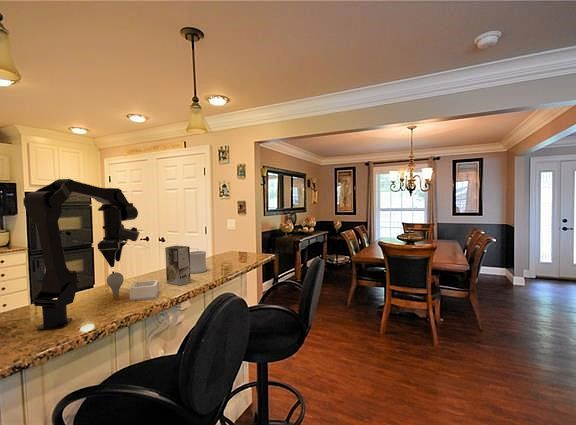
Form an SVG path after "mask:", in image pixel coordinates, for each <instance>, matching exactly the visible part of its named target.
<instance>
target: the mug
mask: <svg viewBox="0 0 576 425" xmlns="http://www.w3.org/2000/svg"><path fill="white" fill-rule="evenodd" d="M206 260H207V251H206V250H194V251H190V274H200V273H205V272H206V271H207V270H208V269H207V261H206Z"/></svg>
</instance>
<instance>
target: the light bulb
mask: <svg viewBox="0 0 576 425" xmlns="http://www.w3.org/2000/svg"><path fill="white" fill-rule="evenodd" d="M124 280H125V279H124V276H123V274H122V273H120V272H116V271H115V272H112V273H110V274H109V275H108V276H107V279H106V284H107V285H108V287H109V288H110V289H111V291H112V292H111V294H112V299H114V300H118V299H119V297H120V288H121V287H122V285H123V283H124Z"/></svg>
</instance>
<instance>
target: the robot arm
mask: <svg viewBox="0 0 576 425" xmlns="http://www.w3.org/2000/svg"><path fill="white" fill-rule="evenodd" d="M71 195H76V196H82V197H86V198H90V199H93V200H95V201H96V202H97V203H100V204H101V206H100V207H98V209H97V211H98V212H102V215H103V216H102V217H103V218H102V219H103V225H102V230H103V232H104V237H103V238H102V240H101V241H98V243H97V250H98V251H99V252H100V253H101V255H102V256H103V257H104V259H105V261H106V262H107V263H108V265H109V267H110V268H114V267H115V264H116V263H115V262H120V261H121V258H122V251H123V249H124V248H123V247H124V246H125V245H126V244H128V241H129V240H130V241H131V242H137V240H138V238H139V236H140V231H139V230H138V228H137V227H134V226H132V227H131V228H125V225H124V224H123V223H122V222H126V221H133V220H136V219H137V217H138V215H139V211H138V209H137V207H136V206H134V203H133V202H129V200H127V197H126V196H125V195H124V192H123V190H122V189H120V188H119V187H117V188H116V187H115V188H113V187H100V186H95V185H92V184H88V183H84V182H80V181H78V180H77V181H76V180H74V179H71V178H58V179H56V180H54V181H52V182H51V183H50V184H47V185H45V186H42V187H40V188H38V189H37V190H35V191H31V192H29V193H27V194H26V195H25V197H23V202H22V203H23V206H24V209H25V211H26V213H27V216H28V217H30V219H31V220H32V221H33V223H35V225H36V230H37V235H38V239H39V243H40V249H41V253H42V259H43V263H44V268H45V272H44V275H43V277H42V279H41V289H40V290H39V292H38V293H37V294H36V296H35V297H34V298H33V299H32V303H33V305H34V307H41V310H42V311H41V313H42V315H41V316H42V324H41V325H40V326H39V327H38V328H37V329H36V330H37V331H45V330H53V329H54V330H55V329H62V328H65V327H66V326H67V325H68V324H69V323H70V322H71V321H72V320H73V318H72V317H68V308H67V306H68V305H71V304H73V303H74V301H75V296H76V293H77V290H78V284H79V283H80V281H79V280H78V272H77V270H70V269H69V268H68V266H67V263H66V258H65V252H64V247H63V241H62V236H61V235H62V234H61V231H60V226H59V225H60V224H59V219H60V217H61V215H62V213H63V204H64V203H65V202H66V201H68V199H69V198H70V196H71ZM53 298H55V299H53Z"/></svg>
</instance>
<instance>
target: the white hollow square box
mask: <svg viewBox="0 0 576 425" xmlns="http://www.w3.org/2000/svg"><path fill="white" fill-rule="evenodd" d="M159 293H160V280H159V279H154V280H143V281H142V280H141V281H134V282H133V283H132V284H131V286H130V287H129V301H130V302H135V300H137V301H144V300H156V299H157V297H158V295H159Z"/></svg>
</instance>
